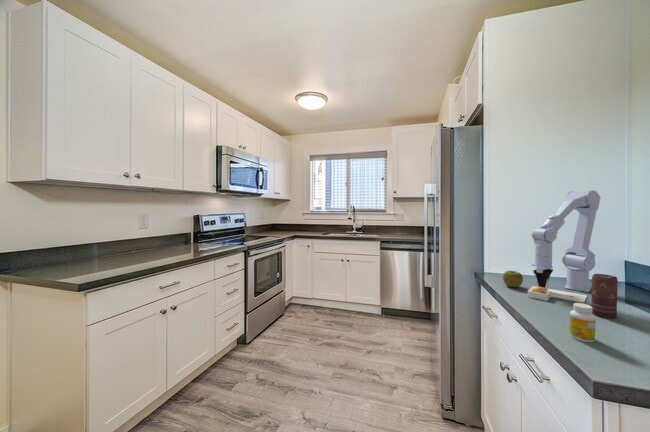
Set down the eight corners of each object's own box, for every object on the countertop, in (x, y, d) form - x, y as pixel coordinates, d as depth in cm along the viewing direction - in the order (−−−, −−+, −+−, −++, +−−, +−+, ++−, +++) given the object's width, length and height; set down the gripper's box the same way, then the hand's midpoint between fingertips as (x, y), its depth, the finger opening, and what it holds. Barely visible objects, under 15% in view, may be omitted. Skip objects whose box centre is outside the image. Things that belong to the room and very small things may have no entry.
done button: (534, 291, 113) (534, 285, 112) (545, 293, 110) (545, 287, 110) (532, 293, 110) (532, 287, 110) (543, 295, 108) (543, 289, 107)
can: (622, 319, 88) (624, 278, 88) (600, 318, 89) (601, 277, 89) (607, 312, 94) (608, 273, 93) (586, 311, 95) (587, 273, 95)
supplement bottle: (564, 334, 80) (565, 302, 79) (580, 332, 80) (581, 301, 80) (583, 343, 74) (584, 309, 74) (600, 342, 75) (601, 308, 74)
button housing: (531, 293, 115) (531, 287, 115) (550, 297, 110) (550, 291, 110) (527, 297, 111) (527, 291, 110) (547, 301, 106) (547, 294, 106)
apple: (507, 289, 121) (507, 273, 121) (499, 283, 129) (499, 269, 128) (526, 289, 119) (526, 274, 119) (517, 284, 127) (517, 269, 127)
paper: (533, 286, 124) (533, 285, 124) (587, 296, 110) (587, 295, 110) (526, 291, 117) (526, 291, 117) (583, 303, 103) (583, 302, 103)
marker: (538, 289, 119) (539, 271, 118) (548, 290, 116) (549, 273, 116) (537, 290, 116) (537, 273, 116) (547, 292, 114) (547, 274, 113)
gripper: (536, 252, 123) (535, 280, 124) (527, 256, 114) (527, 287, 114) (555, 254, 118) (555, 283, 118) (549, 258, 108) (548, 291, 109)
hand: (543, 286), depth 116 cm, fingers closed on marker, 3 cm apart
